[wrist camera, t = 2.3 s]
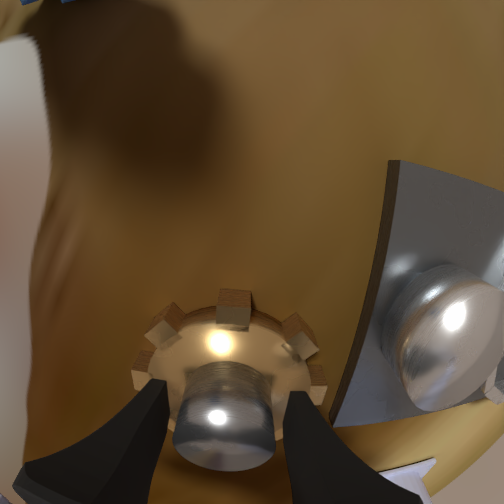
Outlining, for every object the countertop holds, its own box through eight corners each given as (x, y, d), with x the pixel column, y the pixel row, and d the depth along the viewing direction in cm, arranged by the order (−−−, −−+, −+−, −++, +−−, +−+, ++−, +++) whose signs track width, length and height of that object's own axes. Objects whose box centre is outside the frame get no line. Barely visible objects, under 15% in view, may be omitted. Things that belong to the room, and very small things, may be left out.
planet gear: (301, 428, 14) (313, 493, 10) (151, 416, 14) (131, 478, 9) (337, 296, 12) (377, 360, 7) (134, 279, 11) (84, 335, 7)
